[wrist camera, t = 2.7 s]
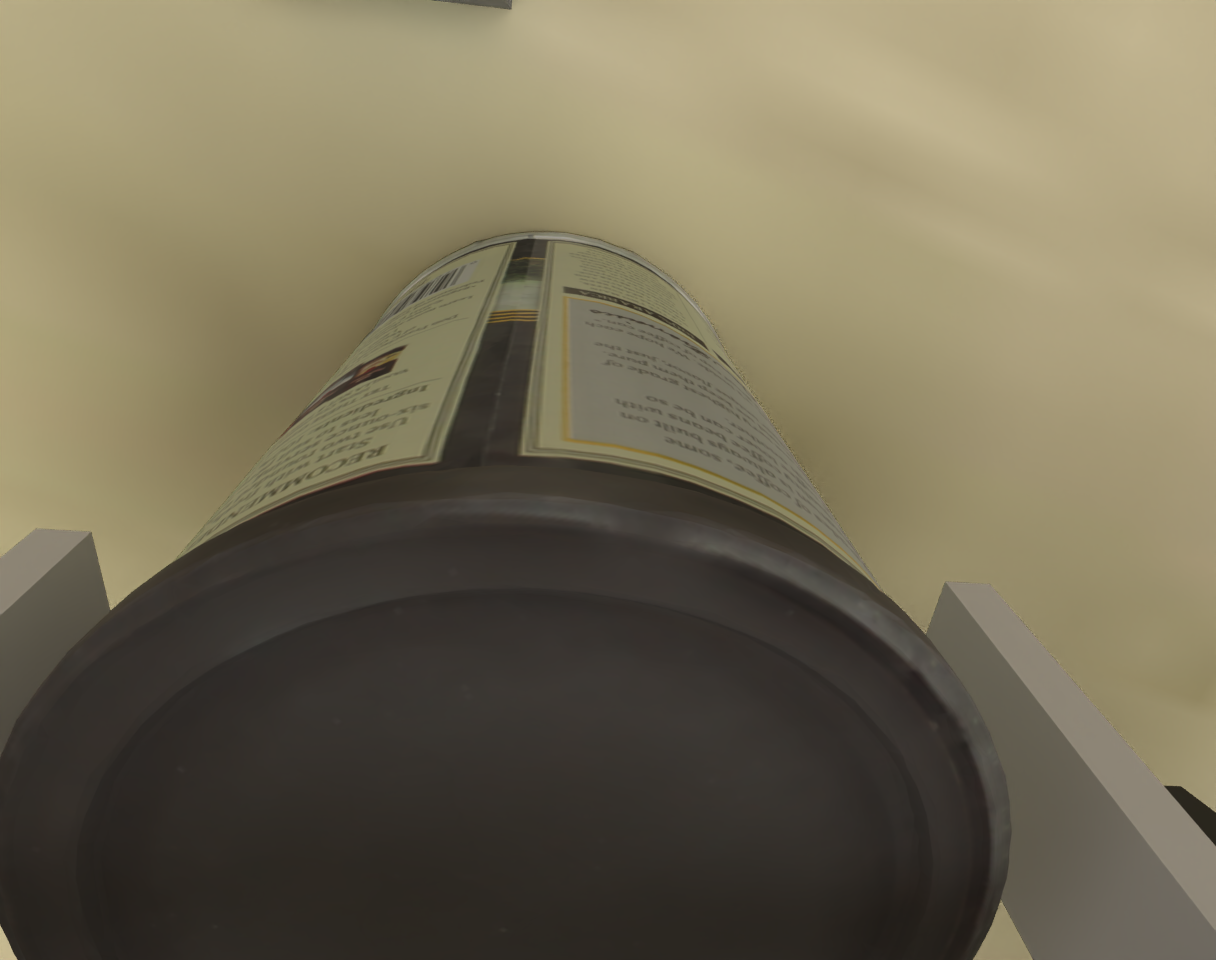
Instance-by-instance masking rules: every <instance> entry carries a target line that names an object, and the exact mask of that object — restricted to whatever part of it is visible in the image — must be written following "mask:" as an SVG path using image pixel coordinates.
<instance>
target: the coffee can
mask: <svg viewBox="0 0 1216 960" xmlns="http://www.w3.org/2000/svg"><path fill="white" fill-rule="evenodd" d="M1011 834H1012V827H1011V817H1010V800H1009V794H1008V788H1007V781H1006V775H1005V772H1004V770H1003V767H1002V764H1001V762H1000V759H999V756H998V753H997V751H996V748H995V745H994V743H993V740H992V737H991V735H990V732H989V730H988V728H987V726H986V724H985V722H984V720H983V718H982V716H981V714H980V712H979V710H978V708H977V707H976V705H975V703H974V701H973V699H972V698H971V696H970V694H969V693H968V691H967V690H966V688H965V687H964V685H963V684H962V682H961V681H960V679H959V678H958V676H957V675H956V674H955V672H954V671H953V670H952V668H951V667H950V666H949V664H948V663H947V662H946V660H945V659H944V658H943V656H942V655H941V654H940V652H939V651H938V650H937V648H936V647H935V646H934V644H933V643H932V642H931V640H930V639H929V638H928V637H927V636H926V635H925V634H924V633H923V631H922V630H921V629H920V628H919V627H918V626H917V625H916V624H915V623H914V622H913V621H912V620H911V618H910V617H909V616H908V615H907V614H906V613H905V612H904V611H903V610H902V609H901V608H900V607H899V606H898V605H897V604H896V603H895V602H894V601H893V600H892V599H890V598H889V597H888V596H887V595H885V593H884V592H883V590H882V589H881V587H880V586H879V584H878V583H877V581H876V580H875V578H874V577H873V575H872V574H871V572H870V571H869V569H868V568H867V566H866V565H865V563H864V562H863V560H862V559H861V557H860V556H859V554H858V552H857V551H856V549H855V548H854V546H853V545H852V543H851V542H850V540H849V539H848V537H847V536H846V534H845V533H844V531H843V530H842V528H841V527H840V525H839V524H838V522H837V521H836V519H835V518H834V516H833V515H832V513H831V512H830V510H829V508H828V507H827V505H826V504H825V502H824V501H823V499H822V498H821V496H820V495H819V493H818V492H817V490H816V489H815V487H814V486H813V484H812V483H811V481H810V480H809V478H808V477H807V475H806V474H805V472H804V471H803V469H802V468H801V466H800V465H799V463H798V462H797V460H796V459H795V457H794V456H793V454H792V453H791V451H790V450H789V448H788V447H787V445H786V444H785V442H784V441H783V439H782V438H781V436H780V435H779V433H778V432H777V430H776V429H775V427H774V426H773V424H772V423H771V421H770V419H769V417H768V415H767V413H766V412H765V411H764V409H763V408H762V407H761V405H760V404H759V402H758V401H757V400H756V398H755V397H754V395H753V394H752V392H751V391H750V389H749V388H748V386H747V384H746V383H745V381H744V380H743V378H742V376H741V375H740V373H739V372H738V370H737V368H736V367H735V366H734V364H733V363H732V361H731V360H730V358H729V357H728V355H727V354H726V352H725V350H724V348H723V346H722V344H721V341H720V339H719V337H718V335H717V333H716V332H715V330H714V328H713V326H712V325H711V323H710V321H709V320H708V318H707V317H706V316H705V314H704V313H703V312H702V310H701V309H700V308H699V306H698V305H697V303H696V302H695V301H694V300H693V299H692V298H691V297H690V296H689V294H688V293H687V292H686V291H685V290H684V289H683V288H682V287H681V286H679V285H678V284H677V283H676V282H675V281H674V280H673V279H671V278H670V277H669V276H668V275H666V274H665V273H664V272H662V271H661V270H660V269H658V268H657V267H655V266H654V265H652V264H650V263H649V262H647V261H646V260H644V259H643V258H641V257H640V256H639V255H637V254H636V253H634V252H631V251H629V250H626V249H623V248H619V247H617V246H614V245H611V244H609V243H606V242H604V241H602V240H599V239H594V238H589V237H585V236H580V235H575V234H570V233H559V232H527V233H516V234H509V235H503V236H498V237H494V238H491V239H487V240H484V241H477V242H475V243H473V244H471V245H469V246H467V247H465V248H463V249H460V250H458V251H456V252H454V253H452V254H450V255H448V256H447V257H445V258H443V259H441V260H440V261H438V262H437V263H435V264H434V265H432V266H431V267H429V268H428V269H426V270H425V271H423V272H422V273H421V274H419V275H418V276H417V277H416V278H415V279H414V280H413V281H412V282H411V283H409V284H408V285H407V286H406V287H405V288H404V289H403V290H402V291H401V292H400V293H399V295H398V296H397V297H396V298H395V299H394V300H393V302H392V303H391V304H390V306H389V307H388V308H387V310H386V311H385V312H384V314H383V315H382V316H381V318H380V319H379V321H378V322H377V324H376V326H375V327H374V329H373V330H372V331H371V332H370V333H369V334H368V335H367V336H366V337H365V338H364V339H363V341H362V342H361V343H360V344H359V346H358V347H357V348H356V349H355V350H354V352H353V353H352V354H351V355H350V357H349V358H348V359H347V360H346V361H345V362H344V363H343V365H342V366H341V367H340V368H339V369H338V370H337V372H336V373H335V374H334V375H333V376H332V377H331V379H330V380H329V381H328V382H327V383H326V384H325V386H324V387H323V388H322V389H321V390H320V391H319V393H318V394H317V395H316V396H315V397H314V398H313V400H312V401H311V402H310V403H309V404H308V406H307V407H306V408H305V409H304V410H303V411H302V413H301V414H300V415H299V416H298V417H297V418H296V420H295V421H294V422H293V423H292V424H291V425H290V427H289V428H288V429H287V430H286V431H285V432H284V433H283V434H282V435H281V436H280V437H279V438H278V439H277V441H276V442H275V443H274V444H273V445H272V446H271V447H270V448H269V449H268V450H267V452H266V453H265V454H264V455H263V456H262V457H261V459H260V460H259V461H258V462H257V463H256V464H255V466H254V467H253V468H252V469H251V471H250V472H249V473H248V474H247V475H246V477H245V478H244V479H243V480H242V481H241V483H240V484H239V485H238V486H237V487H236V489H235V490H234V491H233V492H232V494H231V495H230V496H229V497H228V498H227V500H226V501H225V502H224V503H223V504H222V506H221V507H220V508H219V509H218V510H217V511H216V513H215V514H214V515H213V516H212V517H211V518H210V520H209V521H208V522H207V523H206V524H205V525H204V527H203V528H202V529H201V530H200V531H199V532H198V534H197V535H196V536H195V537H194V538H193V540H192V541H191V542H190V543H189V544H188V545H187V547H186V548H185V549H184V550H183V551H182V552H181V554H180V555H179V556H178V557H177V558H176V559H175V561H174V562H173V563H171V564H169V565H168V566H167V567H165V568H164V569H162V570H161V571H160V572H158V573H157V574H156V575H154V576H153V577H152V578H150V579H149V580H148V581H146V582H145V583H144V584H142V585H141V586H140V587H138V588H137V589H135V590H134V591H133V592H132V593H130V594H129V595H128V596H127V597H126V598H125V599H124V600H122V601H121V602H120V603H119V604H118V605H117V606H116V607H115V608H113V609H112V610H111V611H110V612H109V613H108V614H107V615H106V616H105V617H104V618H103V619H102V620H100V621H99V622H98V623H97V624H96V625H95V626H94V627H93V628H92V629H91V630H90V631H89V632H88V633H87V634H86V635H85V636H84V637H83V638H82V639H80V640H79V641H78V642H77V643H76V644H75V645H74V646H73V647H72V648H71V649H70V650H69V651H68V652H67V653H66V655H65V656H64V657H63V658H62V659H61V661H60V662H59V663H58V664H57V666H56V667H55V668H54V669H53V671H52V672H51V673H50V674H49V675H48V677H47V678H46V679H45V680H44V682H43V683H42V684H41V685H40V687H39V688H38V689H37V691H36V692H35V694H34V695H33V696H32V698H31V699H30V701H29V702H28V704H27V705H26V707H25V708H24V710H23V711H22V712H21V714H20V715H19V717H18V718H17V720H16V722H15V724H14V726H13V728H12V731H11V733H10V735H9V738H8V740H7V742H6V745H5V747H4V749H3V752H2V754H1V756H0V925H1V927H2V929H3V931H4V933H5V935H6V937H7V939H8V941H9V943H10V946H11V948H12V950H13V952H14V954H15V956H16V958H17V959H18V960H973V958H974V957H975V955H976V953H977V952H978V950H979V948H980V946H981V944H982V942H983V941H984V939H985V937H986V935H987V933H988V931H989V929H990V927H991V925H992V922H993V920H994V917H995V914H996V911H997V909H998V906H999V903H1000V900H1001V896H1002V893H1003V889H1004V886H1005V883H1006V880H1007V874H1008V868H1009V850H1010V842H1011Z"/></svg>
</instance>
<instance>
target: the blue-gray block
mask: <svg viewBox="0 0 1216 960" xmlns="http://www.w3.org/2000/svg"><path fill="white" fill-rule="evenodd" d="M434 1H443V2H452V3H460V4H469V5H477V6H486V7H495V8H503V9H511V7H512V0H434Z"/></svg>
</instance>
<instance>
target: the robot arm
mask: <svg viewBox="0 0 1216 960" xmlns="http://www.w3.org/2000/svg"><path fill="white" fill-rule="evenodd" d="M109 612H110V607H109V603H108V599H107V595H106V590H105V586H104V582H103V578H102V574H101V570H100V566H99V562H98V557H97V553H96V549H95V545H94V541H93V537H92V533H91V532H88V531H71V530H54V529H37V528H36V529H35V530H33V531H32V532H31V533H30V534H29V535H27V536H26V537H25V538H24V539H22V540H21V541H20V542H19V543H18V544H16V545H15V546H14V547H13V548H12V549H10V550H9V551H8V552H7V553H5V554H4V555H3V556H2V557H1V558H0V756H1V754H2V752H3V749H4V747H5V745H6V742H7V740H8V738H9V735H10V733H11V731H12V728H13V726H14V724H15V722H16V720H17V718H18V717H19V715H20V714H21V712H22V711H23V710H24V708H25V707H26V705H27V704H28V702H29V701H30V699H31V698H32V696H33V695H34V694H35V692H36V691H37V689H38V688H39V687H40V685H41V684H42V683H43V682H44V680H45V679H46V678H47V677H48V675H49V674H50V673H51V672H52V671H53V669H54V668H55V667H56V666H57V664H58V663H59V662H60V661H61V659H62V658H63V657H64V656H65V655H66V653H67V652H68V651H69V650H70V649H71V648H72V647H73V646H74V645H75V644H76V643H77V642H78V641H79V640H80V639H82V638H83V637H84V636H85V635H86V634H87V633H88V632H89V631H90V630H91V629H92V628H93V627H94V626H95V625H96V624H97V623H98V622H99V621H100V620H102V619H103V618H104V617H105V616H106V615H107V614H108V613H109ZM926 636H927V637H928V638H929V639H930V640H931V642H932V643H933V644H934V646H935V647H936V648H937V650H938V651H939V652H940V654H941V655H942V656H943V658H944V659H945V660H946V662H947V663H948V664H949V666H950V667H951V668H952V670H953V671H954V672H955V674H956V675H957V676H958V678H959V679H960V681H961V682H962V684H963V685H964V687H965V688H966V690H967V691H968V693H969V694H970V696H971V698H972V699H973V701H974V703H975V705H976V707H977V708H978V710H979V712H980V714H981V716H982V718H983V720H984V722H985V724H986V726H987V728H988V730H989V732H990V735H991V737H992V740H993V743H994V745H995V748H996V751H997V753H998V756H999V759H1000V762H1001V764H1002V767H1003V770H1004V772H1005V775H1006V781H1007V788H1008V794H1009V800H1010V817H1011V827H1012V834H1011V842H1010V850H1009V868H1008V874H1007V880H1006V883H1005V886H1004V889H1003V893H1002V896H1001V900H1002V902H1003V904H1004V906H1005V908H1006V910H1007V912H1008V913H1009V915H1010V917H1011V919H1012V921H1013V923H1014V925H1015V927H1016V928H1017V930H1018V932H1019V934H1020V936H1021V938H1022V940H1023V941H1024V943H1025V945H1026V947H1027V949H1028V951H1029V953H1030V954H1031V956H1032V958H1033V960H1216V813H1215V812H1214V811H1213V810H1211V809H1210V808H1209V807H1207V806H1206V805H1205V804H1204V803H1202V802H1201V801H1200V800H1198V799H1197V798H1196V797H1194V796H1193V795H1192V794H1190V793H1189V792H1188V791H1186V790H1185V789H1184V788H1182V787H1181V786H1163V784H1162V783H1161V782H1160V781H1159V780H1158V779H1157V777H1156V776H1155V775H1154V774H1153V773H1152V772H1151V770H1150V769H1149V768H1148V767H1147V766H1146V765H1145V763H1144V762H1143V761H1142V760H1141V759H1140V758H1139V757H1138V755H1137V754H1136V753H1135V752H1134V751H1133V750H1132V748H1131V747H1130V746H1129V745H1128V744H1127V743H1126V741H1125V740H1124V739H1123V738H1122V737H1121V736H1120V734H1119V733H1118V732H1117V731H1116V730H1115V729H1114V727H1113V726H1112V725H1111V724H1110V723H1109V722H1108V720H1107V719H1106V718H1105V717H1104V716H1103V715H1102V714H1101V712H1100V711H1099V710H1098V709H1097V708H1096V707H1095V705H1094V704H1093V703H1092V702H1091V701H1090V700H1089V698H1088V697H1087V696H1086V695H1085V694H1084V693H1083V691H1082V690H1081V689H1080V688H1079V687H1078V686H1077V684H1076V683H1075V682H1074V681H1073V680H1072V679H1071V677H1070V676H1069V675H1068V674H1067V673H1066V672H1065V671H1064V669H1063V668H1062V667H1061V666H1060V665H1059V664H1058V662H1057V661H1056V660H1055V659H1054V658H1053V657H1052V655H1051V654H1050V653H1049V652H1048V651H1047V650H1046V648H1045V647H1044V646H1043V645H1042V644H1041V643H1040V641H1039V640H1038V639H1037V638H1036V637H1035V636H1034V635H1033V633H1032V632H1031V631H1030V630H1029V629H1028V628H1027V626H1026V625H1025V624H1024V623H1023V622H1022V621H1021V619H1020V618H1019V617H1018V616H1017V615H1016V614H1015V612H1014V611H1013V610H1012V609H1011V608H1010V607H1009V605H1008V604H1007V603H1006V602H1005V601H1004V600H1003V598H1002V597H1001V596H1000V595H999V594H998V593H997V592H996V590H995V589H994V588H993V587H992V586H991V585H990V584H979V583H962V582H945V584H944V586H943V589H942V592H941V595H940V597H939V600H938V603H937V606H936V608H935V611H934V614H933V617H932V619H931V622H930V625H929V628H928V630H927V633H926Z"/></svg>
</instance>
